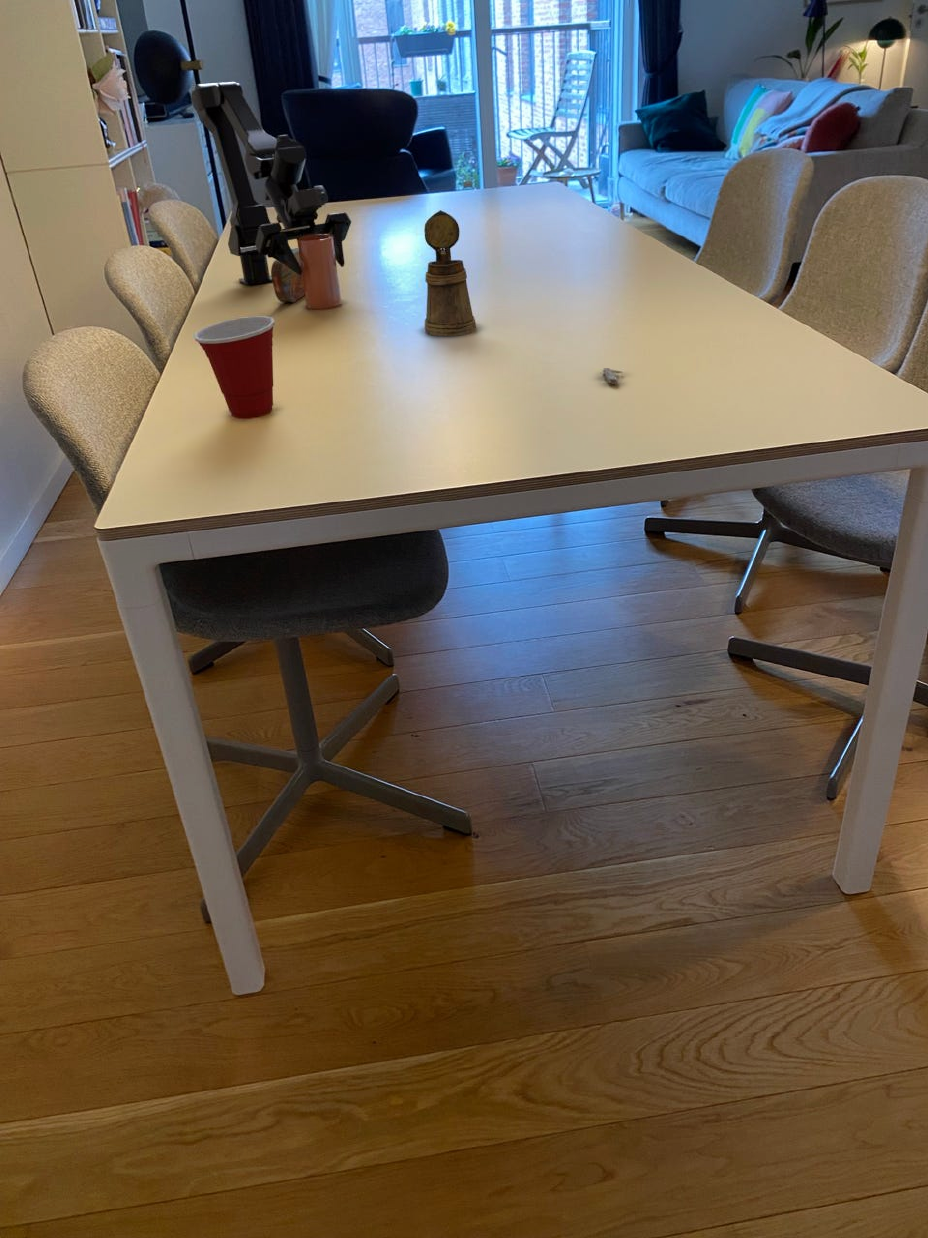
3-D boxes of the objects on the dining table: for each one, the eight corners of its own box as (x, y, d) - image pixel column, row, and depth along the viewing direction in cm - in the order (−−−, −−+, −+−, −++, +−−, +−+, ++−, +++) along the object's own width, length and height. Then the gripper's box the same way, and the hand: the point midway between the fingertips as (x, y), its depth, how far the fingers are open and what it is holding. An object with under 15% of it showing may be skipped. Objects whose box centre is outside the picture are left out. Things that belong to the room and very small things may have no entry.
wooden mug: (472, 315, 165) (466, 207, 155) (478, 334, 154) (472, 219, 144) (423, 318, 165) (414, 211, 155) (425, 338, 153) (416, 224, 144)
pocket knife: (629, 380, 126) (608, 378, 126) (628, 386, 127) (607, 384, 126) (621, 368, 131) (601, 366, 131) (620, 373, 132) (600, 372, 131)
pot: (312, 300, 183) (303, 234, 176) (345, 300, 181) (336, 233, 175) (302, 309, 177) (291, 241, 170) (335, 308, 176) (326, 239, 169)
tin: (288, 306, 180) (281, 261, 175) (273, 306, 180) (266, 262, 176) (313, 289, 192) (307, 246, 188) (300, 289, 193) (293, 247, 188)
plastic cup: (217, 402, 131) (199, 317, 124) (292, 396, 131) (278, 311, 125) (205, 429, 121) (185, 338, 115) (286, 422, 122) (270, 331, 116)
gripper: (250, 177, 165) (286, 249, 163) (340, 165, 174) (375, 233, 172) (241, 220, 175) (275, 288, 173) (326, 207, 184) (360, 271, 182)
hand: (322, 269), depth 175 cm, fingers open, 9 cm apart
